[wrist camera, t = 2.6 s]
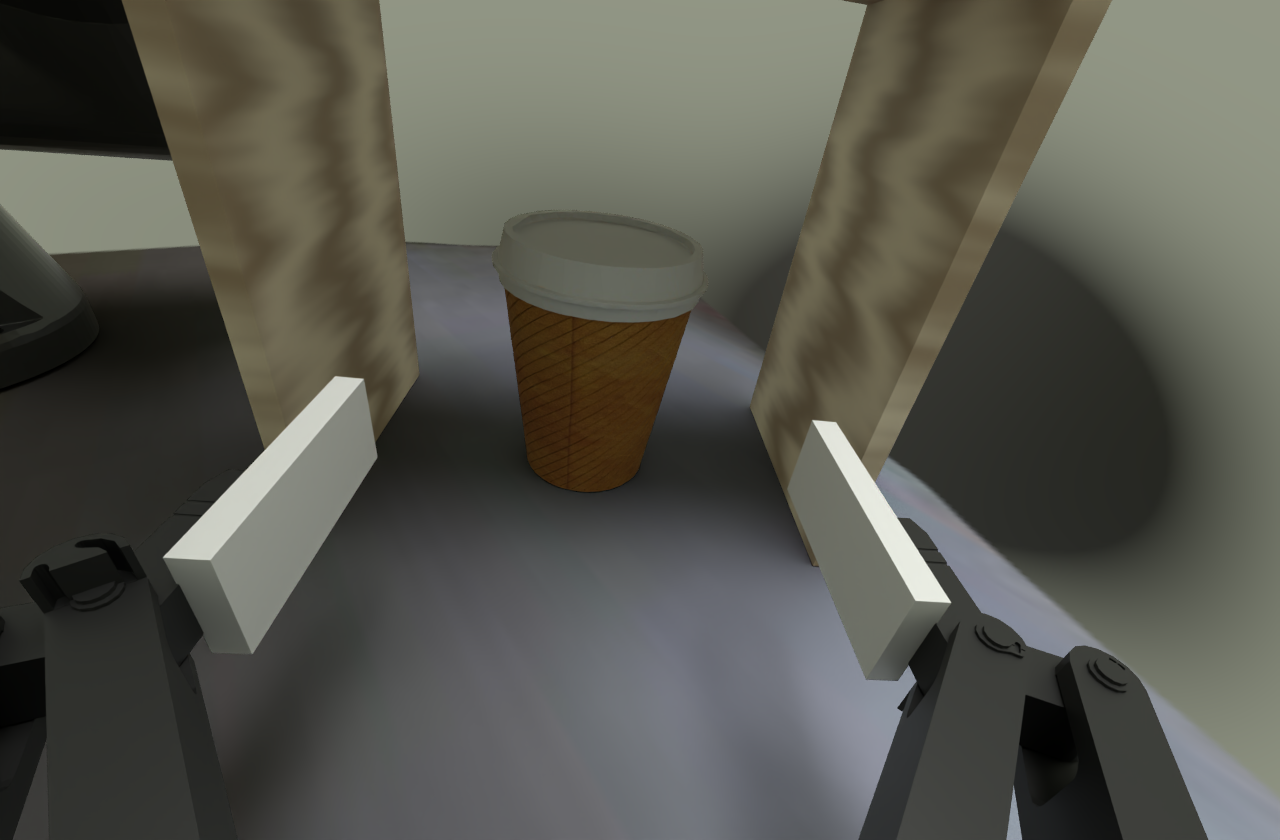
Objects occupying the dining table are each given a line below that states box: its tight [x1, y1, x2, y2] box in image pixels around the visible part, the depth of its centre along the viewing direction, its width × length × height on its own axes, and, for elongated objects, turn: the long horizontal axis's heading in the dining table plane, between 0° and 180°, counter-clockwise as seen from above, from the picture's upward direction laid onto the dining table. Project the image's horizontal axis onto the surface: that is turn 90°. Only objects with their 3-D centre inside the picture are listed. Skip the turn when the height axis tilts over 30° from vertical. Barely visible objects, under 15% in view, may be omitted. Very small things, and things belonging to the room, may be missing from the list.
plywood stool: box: [122, 0, 1112, 566], centre depth 23 cm, size 14×24×24 cm, turn 92°
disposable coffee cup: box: [492, 210, 708, 492], centre depth 26 cm, size 10×10×12 cm
